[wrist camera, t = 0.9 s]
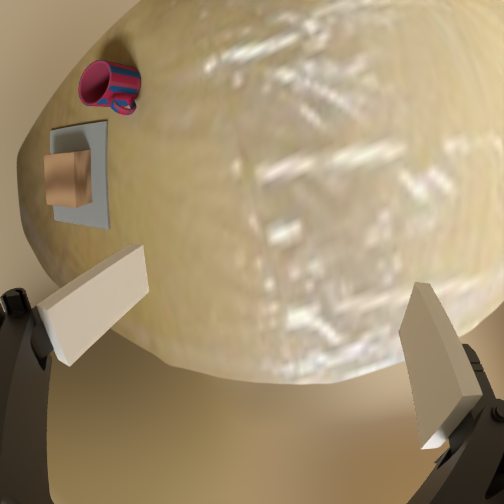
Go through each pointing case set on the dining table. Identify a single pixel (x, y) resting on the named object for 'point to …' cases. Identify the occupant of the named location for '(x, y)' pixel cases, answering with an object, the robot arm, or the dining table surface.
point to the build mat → (95, 141)
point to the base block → (68, 178)
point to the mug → (110, 86)
